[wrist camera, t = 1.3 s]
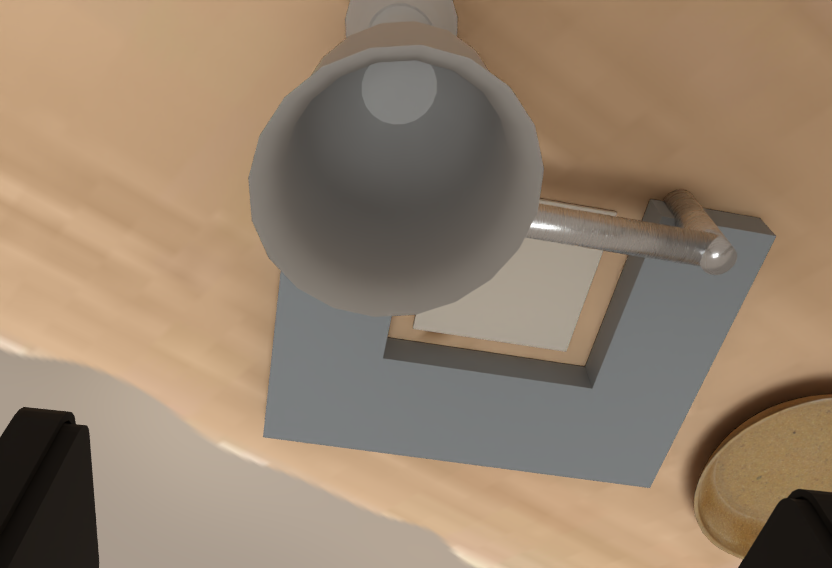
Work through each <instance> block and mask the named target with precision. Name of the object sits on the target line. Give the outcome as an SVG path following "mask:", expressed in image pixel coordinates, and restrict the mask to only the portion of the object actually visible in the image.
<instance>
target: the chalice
mask: <svg viewBox="0 0 832 568" xmlns="http://www.w3.org/2000/svg"><path fill="white" fill-rule="evenodd" d="M457 19H458V18H457V14H456V11H455V7H454V4H453V0H350V3H349V7H348V11H347V15H346V18H345V24H346V39H345V40H344V41H342V42H341V43H340V44H339V45H337V46H336V47H335V48H334V49H332V50H331V51H330V52H329V53H328V54H326V55H325V56H324V57H323V58H322V60H321V61H320V63H319V64H318V66H317V67H316V69H315V70H314V72H313V73H312V75H311V76H310V77H309V78H308V79H307V80H305V81H304V82H303V83H302V84H300V85H299V86H298V87H297V88H295V89H294V90H293V91H292V92H291V93H289V94H288V95H287V96H286V97H285V98H284V99H283V101H282V102H281V104H280V105H279V107H278V108H277V110H276V111H275V113H274V114H273V116H272V117H271V119H270V121H269V122H268V124H267V125H266V127H265V128H264V130H263V131H262V133H261V134H260V136H259V140H258V144H257V147H256V151H255V155H254V159H253V163H252V167H251V170H250V174H249V178H248V179H249V191H250V203H251V215H252V222H253V224H254V226H255V228H256V231H257V233H258V235H259V237H260V239H261V242H262V244H263V246H264V248H265V250H266V253H267V255H268V257H269V259H270V260H271V261H272V262H273V263H274V264H275V265H276V266H277V267H278V268H279V269H280V270H281V271H282V272H283V273H284V275H285V276H286V277H287V278H288V279H289V280H290V281H291V282H292V283H293V284H294V285H295V286H296V287H297V288H298V289H300V290H302V291H304V292H305V293H307V294H309V295H311V296H313V297H315V298H316V299H318V300H320V301H322V302H324V303H325V304H327V305H329V306H331V307H333V308H336V309H341V310H345V311H350V312H354V313H359V314H363V315H368V316H373V317H381V316H400V315H417V314H420V313H423V312H426V311H429V310H432V309H435V308H438V307H442V306H445V305H448V304H451V303H454V302H456V301H458V300H460V299H461V298H463V297H464V296H466V295H468V294H469V293H471V292H472V291H474V290H475V289H477V288H479V287H480V286H482V285H483V284H485V283H487V282H488V281H490V280H491V279H492V278H493V277H494V276H495V275H496V274H497V273H498V271H499V270H500V269H501V268H502V267H503V266H504V265H505V264H506V263H507V262H508V261H509V260H510V258H511V257H512V256H513V255H514V254H515V253H516V252H517V251H518V250H519V248H520V246H521V244H522V242H523V240H524V238H525V236H526V234H527V232H528V230H529V228H530V226H531V224H532V222H533V220H534V218H535V216H536V214H537V212H538V207H539V200H540V193H541V186H542V179H543V172H544V167H543V162H542V157H541V152H540V147H539V143H538V138H537V133H536V128H535V125H534V123H533V122H532V120H531V119H530V117H529V116H528V114H527V113H526V111H525V110H524V108H523V106H522V105H521V103H520V102H519V100H518V99H517V97H516V96H515V94H514V93H513V91H512V90H511V88H510V87H509V86H508V85H507V84H505V83H504V82H502V81H501V80H500V79H498V78H497V77H495V76H494V75H493V74H491V73H490V72H489V70H488V69H487V67H486V66H485V64H484V63H483V61H482V60H481V58H480V57H479V55H478V54H477V52H476V51H475V50H474V49H473V48H472V47H470V46H469V45H467V44H466V43H465V42H463V41H462V40H461V39H459V38H458V37H457Z"/></svg>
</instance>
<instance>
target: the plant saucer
mask: <svg viewBox="0 0 832 568" xmlns="http://www.w3.org/2000/svg"><path fill="white" fill-rule="evenodd" d="M797 489H807V490H816V491H826V492H832V394H830V395H817V396H809V397H804V398H799V399H795V400H790V401H787V402H784V403H781V404H778V405H775V406H773V407H770V408H768V409H766V410H764V411H762V412H760V413H758V414H756V415H755V416H753V417H751V418H750V419H748V420H747V421H745V422H744V423H743V424H741V425H740V426H739V427H737V428H736V429H735V430H734V431H733V432H731V433H730V434H729V435H728V436H727V437H726V438H725V439H724V440H723V441H722V443H721V444H720V445H719V446H718V447H717V449H716V450H715V451H714V452H713V454H712V455H711V457H710V458H709V460H708V462H707V464H706V465H705V467H704V469H703V471H702V474H701V476H700V479H699V481H698V484H697V487H696V490H695V495H694V513H695V517H696V520H697V522H698V525H699V526H700V528H701V530H702V532H703V534H704V535H705V536H706V537H707V538H708V539H709V540H710V541H711V542H712V543H713V544H714V545H715V546H717V547H718V548H720V549H721V550H723V551H725V552H727V553H728V554H731V555H733V556H735V557H738V558H741V559H744V557H745V556H746V554H747V553H748V551H749V549H750V548H751V546H752V544H753V543H754V541H755V540H756V538H757V536H758V535H759V533H760V531H761V530H762V528H763V527H764V525H765V523H766V522H767V520H768V518H769V517H770V515H771V514H772V512H773V510H774V509H775V507H776V505H777V504H778V503H779V501H780V500H782V499H784V498H787V497H788V496H789V495H790V494H791V492H792V491H794V490H797Z"/></svg>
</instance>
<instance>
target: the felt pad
mask: <svg viewBox="0 0 832 568" xmlns="http://www.w3.org/2000/svg"><path fill="white" fill-rule="evenodd" d="M539 203H540V204H546V205H552V206H558V207H564V208H569V209H575V210H581V211H587V212H593V213H599V214H605V215H610V216H616V215H617V212H615V211H610V210H604V209H598V208H592V207H586V206H580V205H575V204H569V203H563V202H557V201H551V200H546V199H540V200H539ZM602 253H603V251H602V250H596V249H590V248H584V247H578V246H572V245H566V244H560V243H554V242H548V241H542V240H536V239H530V238H524V240H523V242H522V244H521V246H520V248H519V250H518V251H517V252H516V253H515V254H514V255H513V256H512V257H511V258H510V260H509V261H508V262H507V263H506V264H505V265H504V266H503V267H502V268H501V269H500V270H499V271H498V273H497V274H496V275H495V276H494V277H493V278H492V279H491V280H490V281H488V282H487V283H485V284H483V285H482V286H480V287H479V288H477V289H475V290H474V291H472V292H471V293H469V294H468V295H466V296H464V297H463V298H461V299H460V300H458V301H456V302H454V303H451V304H448V305H445V306H442V307H438V308H435V309H432V310H429V311H426V312H423V313H420V314H417V315H416V316H415V320H414V324H413V329H418V330H424V331H431V332H438V333H445V334H451V335H458V336H465V337H471V338H478V339H485V340H491V341H498V342H505V343H511V344H518V345H525V346H531V347H538V348H545V349H551V350H558V351H565V352H566V351H567V348H568V345H569V343H570V340H571V337H572V334H573V332H574V329H575V326H576V324H577V321H578V318H579V315H580V313H581V310H582V307H583V304H584V302H585V299H586V296H587V294H588V291H589V288H590V285H591V283H592V280H593V277H594V275H595V272H596V269H597V266H598V264H599V261H600V258H601V255H602Z"/></svg>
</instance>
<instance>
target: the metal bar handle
mask: <svg viewBox="0 0 832 568" xmlns="http://www.w3.org/2000/svg"><path fill="white" fill-rule="evenodd" d="M663 202H664V203H665V204H666V206H667V207H668V209H669V210H670V212H671V213H672V214H673V216H674V217H675V222H674V226H669V225H663V224H657V223H651V222H645V221H640V220H634V219H628V218H622V217H616V216H610V215H605V214H599V213H593V212H587V211H581V210H575V209H569V208H564V207H558V206H552V205H546V204H540V203H539V207H538V212H537V214H536V216H535V218H534V220H533V222H532V224H531V226H530V228H529V230H528V232H527V234H526V236H525V238H530V239H536V240H542V241H548V242H554V243H560V244H566V245H572V246H578V247H584V248H590V249H596V250H602V251H608V252H614V253H620V254H626V255H632V256H638V257H644V258H650V259H657V260H663V261H669V262H675V263H681V264H687V265H693V266H699V267H701V268H702V269H703V270H704V271H705V272H706V273H708V274H711V275H720V274H723V273H725V272H727V271H729V270H730V269H731V268H732V267H733V266H734V265H735V263H736V260H737V252H736V250H735V249H734V247H733V246H732V245H731V243H730V242H729V241H728V240H727V238H726V237H725V236H724V235H723V233H722V232H721V231H720V230H719V228H718V227H717V226H716V224H715V223H714V222H713V221H712V219H711V218H710V217H709V216H708V214H707V213H706V212H705V211H704V209H703V208H702V207H701V205H700V204H699V203H698V202H697V200H696V199H695V198H694V197H693V195H692V194H691V193H690V192H688V191H686V190H675V191H673V192H671V193H670V194H668V195H667V196H666V197H665V199H664V201H663Z"/></svg>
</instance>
